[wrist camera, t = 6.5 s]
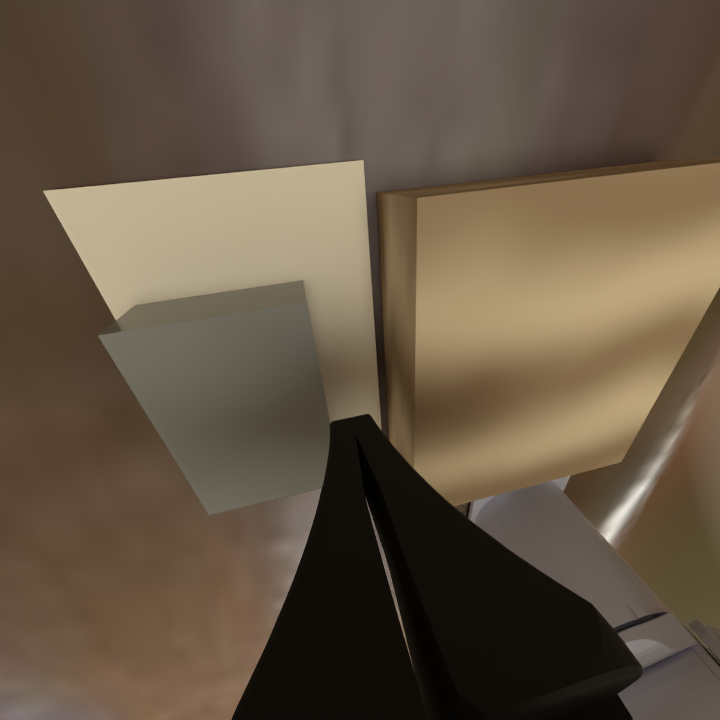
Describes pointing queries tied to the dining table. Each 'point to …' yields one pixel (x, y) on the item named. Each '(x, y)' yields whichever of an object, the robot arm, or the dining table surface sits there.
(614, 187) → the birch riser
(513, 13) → the dining table surface
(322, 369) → the placemat
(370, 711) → the robot arm
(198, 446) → the slate tile
